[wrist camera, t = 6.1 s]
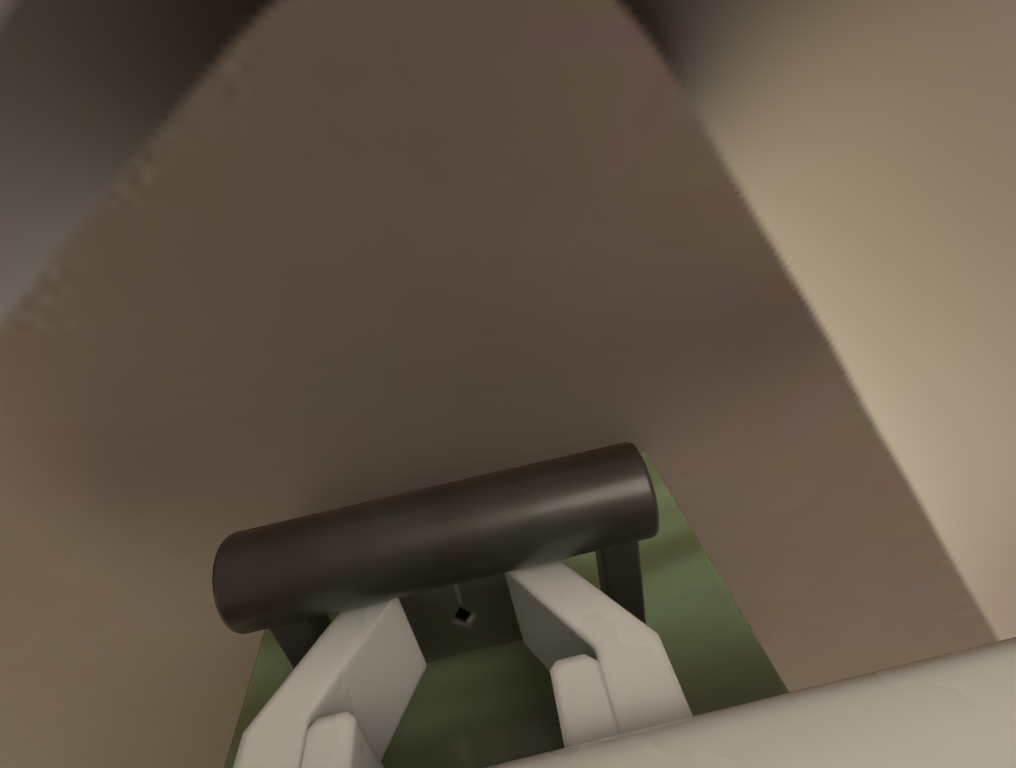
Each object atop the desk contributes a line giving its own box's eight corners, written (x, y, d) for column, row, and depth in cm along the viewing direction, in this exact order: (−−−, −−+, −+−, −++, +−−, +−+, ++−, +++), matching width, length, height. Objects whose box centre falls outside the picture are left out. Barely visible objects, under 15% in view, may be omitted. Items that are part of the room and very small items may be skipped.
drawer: (218, 391, 12) (-105, 864, 5) (635, 297, 12) (942, 611, 5) (419, 771, 20) (415, 1154, 13) (663, 712, 20) (793, 1054, 13)
